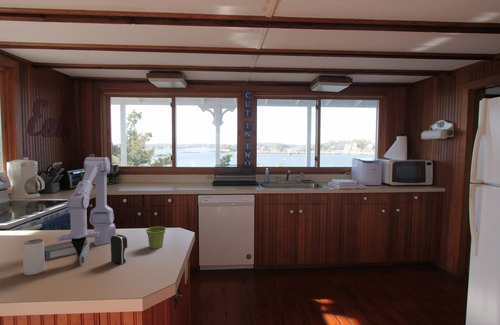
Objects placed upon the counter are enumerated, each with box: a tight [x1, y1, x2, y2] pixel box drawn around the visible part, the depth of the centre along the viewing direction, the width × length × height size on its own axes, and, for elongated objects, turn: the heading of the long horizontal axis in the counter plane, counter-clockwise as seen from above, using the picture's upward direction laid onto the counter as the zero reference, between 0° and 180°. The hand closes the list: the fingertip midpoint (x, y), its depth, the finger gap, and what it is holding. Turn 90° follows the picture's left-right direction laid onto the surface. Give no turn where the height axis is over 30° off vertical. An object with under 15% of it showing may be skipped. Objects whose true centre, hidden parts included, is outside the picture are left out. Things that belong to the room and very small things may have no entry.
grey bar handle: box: [78, 242, 91, 267], centre depth 118 cm, size 17×2×4 cm, turn 22°
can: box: [22, 238, 46, 276], centre depth 104 cm, size 6×6×12 cm
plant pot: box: [145, 226, 167, 250], centre depth 132 cm, size 9×9×9 cm
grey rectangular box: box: [44, 239, 89, 261], centre depth 123 cm, size 17×8×4 cm, turn 132°
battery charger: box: [110, 233, 128, 265], centre depth 114 cm, size 7×4×11 cm, turn 60°
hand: (79, 255), depth 114 cm, fingers closed
